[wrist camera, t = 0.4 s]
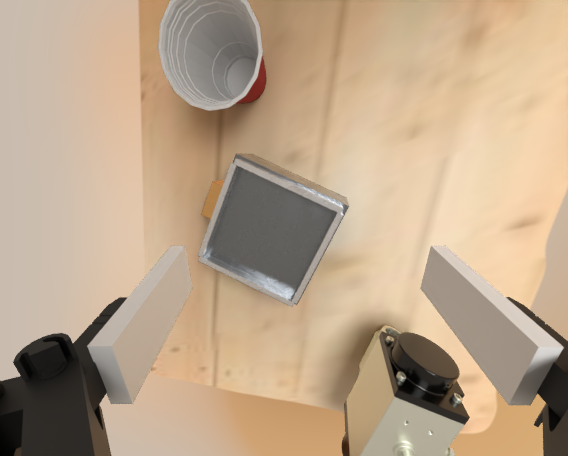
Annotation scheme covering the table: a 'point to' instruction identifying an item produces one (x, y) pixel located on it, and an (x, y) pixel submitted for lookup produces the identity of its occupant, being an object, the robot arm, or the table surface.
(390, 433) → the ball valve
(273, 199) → the square tray with tab
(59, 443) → the robot arm
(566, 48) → the table surface
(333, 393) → the table surface
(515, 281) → the table surface
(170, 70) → the plastic cup
